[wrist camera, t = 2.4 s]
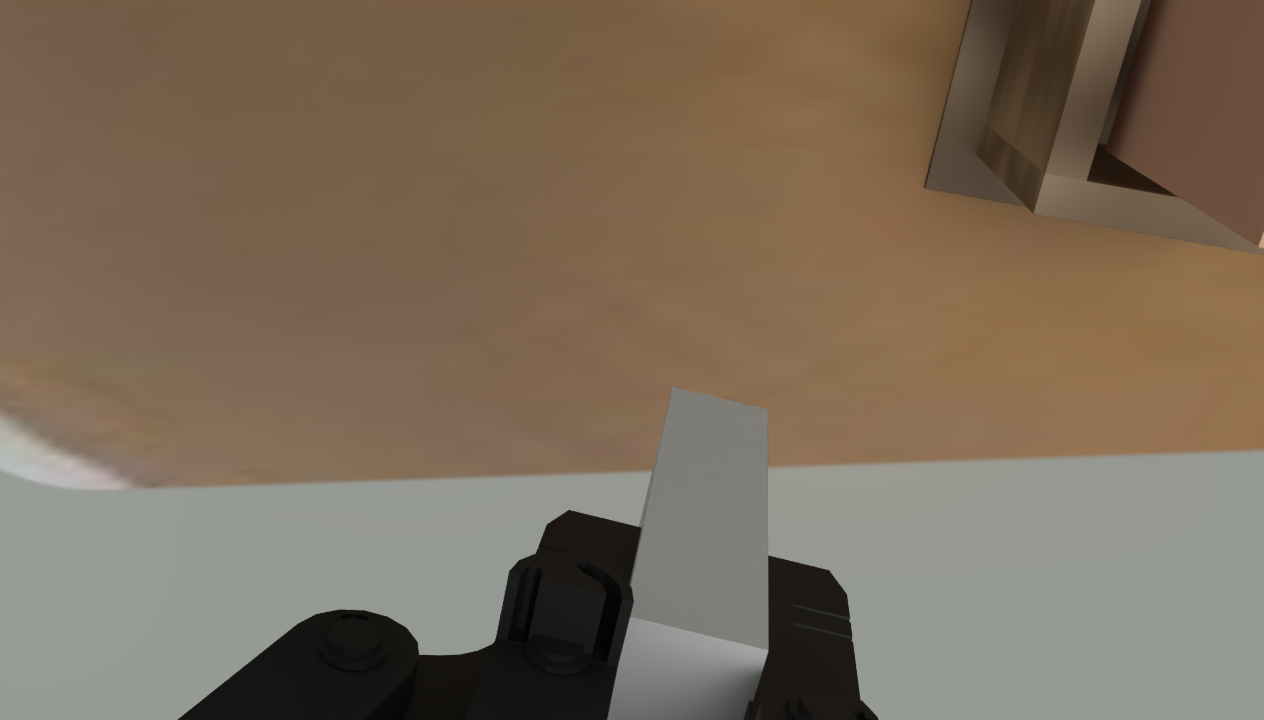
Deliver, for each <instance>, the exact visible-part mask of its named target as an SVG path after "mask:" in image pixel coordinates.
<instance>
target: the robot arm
mask: <svg viewBox="0 0 1264 720" xmlns="http://www.w3.org/2000/svg"><path fill="white" fill-rule="evenodd" d="M849 620H850V614H849V607H848V599H847V594H846V592H845V591H844V590H843V588H842V587H841V586H840V585H839V583H838V582H837V580H836V579H835V578H834V576H833V575H832V574H831V572H830V571H829V570H825V569H821V568H818V567H813V566H809V565H805V564H801V563H797V562H793V561H789V560H784V559H780V558H776V557H772V556H768V431H767V409H763V408H759V407H755V406H751V405H747V404H743V403H738V402H734V401H730V400H726V399H722V398H717V397H713V396H709V395H705V394H701V393H697V392H692V391H688V390H684V389H680V388H676V387H673V388H672V392H671V397H670V401H669V405H668V409H667V413H666V417H665V421H664V425H663V430H662V434H661V438H660V442H659V446H658V450H657V454H656V458H655V463H654V467H653V471H652V475H651V479H650V483H649V488H648V491H647V496H646V500H645V504H644V508H643V512H642V516H641V520H640V524H639V527H637V526H632V525H628V524H624V523H620V522H616V521H612V520H608V519H604V518H599V517H595V516H591V515H587V514H583V513H579V512H575V511H571V510H568V511H567V512H565V513H564V514H562V515H561V516H559V517H558V518H556V519H554V520H553V521H551V522H550V523H548V524H547V526H546V528H545V531H544V533H543V536H542V539H541V542H540V544H539V548H538V549H537V552H536V554H534V555H531V556H529V557H526V558H524V559H521V560H519V561H518V562H517V563H516V564H515V566H514V567H513V568H512V569H511V570H510V571H509V576H508V581H507V586H506V591H505V596H504V601H503V606H502V611H501V615H500V621H499V626H498V631H497V636H496V639H495V642H494V643H493V644H492V645H490V646H487V647H485V648H483V649H481V650H478V651H474V652H470V653H466V654H461V655H443V656H442V655H440V656H439V655H419V651H418V642H417V641H416V640H415V638H414V637H413V636H412V634H411V633H410V632H409V630H408V629H407V628H406V627H404V626H403V625H401V624H399V623H397V622H396V621H394V620H392V619H391V618H389V617H387V616H383V615H379V614H376V613H372V612H368V611H364V610H335V611H330V612H325V613H320V614H316V615H314V616H312V617H310V618H308V619H306V620H304V621H302V622H301V623H298V624H297V625H296V626H294V627H293V628H292V629H291V630H289V631H288V632H287V633H286V634H284V635H283V636H282V637H281V638H279V639H278V640H277V641H276V642H274V643H273V644H272V645H271V646H269V647H268V648H267V649H266V650H264V651H263V652H262V653H261V654H259V655H258V656H257V657H256V658H255V659H253V660H252V661H251V662H249V663H248V664H247V665H246V666H244V667H243V668H242V669H241V670H239V671H238V672H237V673H235V674H234V675H233V676H232V677H231V678H229V679H228V680H227V681H225V682H224V683H223V684H222V685H220V686H219V687H218V688H217V689H216V690H214V691H213V692H212V693H210V694H209V695H208V696H207V697H205V699H203V700H202V701H200V702H199V703H198V704H197V705H195V706H194V707H193V708H192V709H191V710H189V711H188V712H187V713H185V714H184V715H183V716H182V717H180V718H179V719H178V720H878V718H877V716H876V715H875V714H874V713H873V712H872V711H871V710H870V709H869V708H868V706H867V705H866V704H865V703H864V702H863V701H861V700H860V694H859V687H858V686H859V685H858V677H857V670H856V661H855V654H854V646H853V642H852V630H851V623H850V622H849Z"/></svg>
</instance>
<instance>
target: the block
mask: <svg viewBox="0 0 1264 720" xmlns="http://www.w3.org/2000/svg"><path fill="white" fill-rule="evenodd" d="M1105 151H1106V152H1108V153H1109V154H1111V155H1113V156H1114V157H1116V158H1117V159H1119V160H1120V161H1122V162H1124V163H1125V164H1127V165H1128V166H1130V167H1132V168H1133V169H1135V170H1136V171H1138V172H1140V173H1141V174H1143V175H1144V176H1146V177H1148V178H1149V179H1151V180H1152V181H1154V182H1155V183H1157V184H1159V185H1160V186H1162V187H1163V188H1165V189H1167V190H1168V191H1170V192H1171V193H1173V194H1175V195H1176V196H1178V197H1179V198H1181V199H1183V200H1184V201H1186V202H1187V203H1189V204H1190V205H1192V206H1194V207H1195V208H1197V209H1198V210H1200V211H1202V212H1203V213H1205V214H1206V215H1208V216H1210V217H1211V218H1213V219H1214V220H1216V221H1217V222H1219V223H1221V224H1222V225H1224V226H1225V227H1227V228H1229V229H1230V230H1232V231H1233V232H1235V233H1237V234H1238V235H1240V236H1241V237H1243V238H1245V239H1246V240H1248V241H1249V242H1251V243H1252V244H1254V245H1256V246H1257V247H1260V248H1264V0H1151V2H1150V5H1149V8H1148V12H1147V15H1146V18H1145V22H1144V25H1143V28H1142V31H1141V35H1140V38H1139V41H1138V44H1137V48H1136V51H1135V54H1134V58H1133V61H1132V64H1131V67H1130V71H1129V74H1128V77H1127V80H1126V84H1125V87H1124V90H1123V93H1122V97H1121V100H1120V103H1119V107H1118V110H1117V113H1116V116H1115V120H1114V123H1113V126H1112V129H1111V133H1110V136H1109V139H1108V143H1107V146H1106V149H1105Z"/></svg>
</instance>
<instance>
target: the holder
mask: <svg viewBox="0 0 1264 720" xmlns="http://www.w3.org/2000/svg"><path fill="white" fill-rule="evenodd" d="M1150 2H1151V0H972V1H971V5H970V9H969V13H968V17H967V21H966V25H965V29H964V33H963V37H962V41H961V44H960V48H959V52H958V56H957V60H956V64H955V68H954V72H953V76H952V80H951V84H950V88H949V92H948V96H947V100H946V104H945V108H944V112H943V116H942V120H941V124H940V128H939V132H938V135H937V139H936V143H935V147H934V151H933V155H932V159H931V163H930V167H929V171H928V175H927V179H926V183H925V188H926V189H932V190H937V191H943V192H948V193H954V194H960V195H965V196H971V197H976V198H982V199H987V200H993V201H999V202H1004V203H1010V204H1015V205H1021V206H1027V207H1028V209H1029V210H1030V211H1031V212H1032V213H1033V214H1038V215H1043V216H1049V217H1054V218H1060V219H1066V220H1071V221H1077V222H1082V223H1088V224H1093V225H1099V226H1105V227H1110V228H1116V229H1121V230H1127V231H1132V232H1138V233H1144V234H1149V235H1155V236H1160V237H1166V238H1171V239H1177V240H1183V241H1188V242H1194V243H1199V244H1205V245H1210V246H1216V247H1222V248H1227V249H1233V250H1238V251H1244V252H1249V253H1255V254H1260V255H1264V248H1260V247H1257V246H1256V245H1254V244H1252V243H1251V242H1249V241H1248V240H1246V239H1245V238H1243V237H1241V236H1240V235H1238V234H1237V233H1235V232H1233V231H1232V230H1230V229H1229V228H1227V227H1225V226H1224V225H1222V224H1221V223H1219V222H1217V221H1216V220H1214V219H1213V218H1211V217H1210V216H1208V215H1206V214H1205V213H1203V212H1202V211H1200V210H1198V209H1197V208H1195V207H1194V206H1192V205H1190V204H1189V203H1187V202H1186V201H1184V200H1183V199H1181V198H1179V197H1178V196H1176V195H1175V194H1173V193H1171V192H1170V191H1168V190H1167V189H1165V188H1163V187H1162V186H1160V185H1159V184H1157V183H1155V182H1154V181H1152V180H1151V179H1149V178H1148V177H1146V176H1144V175H1143V174H1141V173H1140V172H1138V171H1136V170H1135V169H1133V168H1132V167H1130V166H1128V165H1127V164H1125V163H1124V162H1122V161H1120V160H1119V159H1117V158H1116V157H1114V156H1113V155H1111V154H1109V153H1108V152H1106V151H1105V149H1106V146H1107V143H1108V139H1109V136H1110V133H1111V129H1112V126H1113V123H1114V120H1115V116H1116V113H1117V110H1118V107H1119V103H1120V100H1121V97H1122V93H1123V90H1124V87H1125V84H1126V80H1127V77H1128V74H1129V71H1130V67H1131V64H1132V61H1133V58H1134V54H1135V51H1136V48H1137V44H1138V41H1139V38H1140V35H1141V31H1142V28H1143V25H1144V22H1145V18H1146V15H1147V12H1148V8H1149V5H1150Z"/></svg>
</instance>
